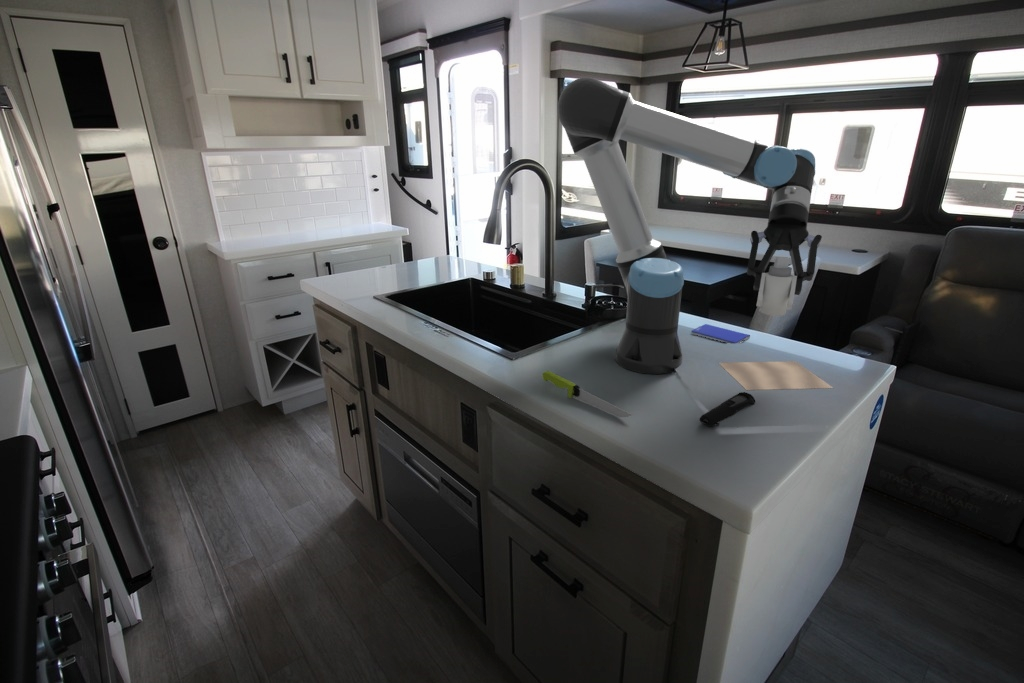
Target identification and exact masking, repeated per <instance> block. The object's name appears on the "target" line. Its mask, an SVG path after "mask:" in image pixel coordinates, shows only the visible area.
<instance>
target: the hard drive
mask: <svg viewBox="0 0 1024 683" xmlns="http://www.w3.org/2000/svg"><path fill="white" fill-rule="evenodd" d="M690 334H691V335H695V336H697V335H698V336H697V337H701V336H702V338H705V337H706V338H705V339H708V338H710V339H709V340H712V339H714V340H713V341H716V340H718V341H717V342H720V341H721V342H720V343H723V342H726V343H725V344H727V343H730V344H734V345H735V344H741V343H740V342H742V341H743V342H745V341H747V340H749V339H750V338H751V334H749V333H748V334H747V333H743V332H739V331H736V330H731V329H728V328H723V327H719V326H715V325H711V324H707V323H704V324H703V325H702V324H701V325H700V326H698V327H696V328H693V329H691V331H690ZM746 339H747V340H746ZM744 340H745V341H744ZM743 342H742V343H743ZM730 344H729V345H730Z"/></svg>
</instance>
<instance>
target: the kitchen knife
mask: <svg viewBox="0 0 1024 683" xmlns="http://www.w3.org/2000/svg"><path fill="white" fill-rule="evenodd" d="M541 378H542V380H543V381H544V382H548V381H549V382H550V383H552V384H553V385H554V386H556V387H557V388H560V389H567V398H570V399H572V398H573V399H576V400H577V401H580V402H583V403H585V404H587V405H590V406H592V407H595V408H597V409H599V410H601V411H603V412H606V413H608V414H611V415H612V416H615V417H617V418H630V417H631V416H633V414H632V413H630V412H628V411H626V410H624V409H622V408H619V407H618V406H616V405H614V404H612V403H610V402H608V401H606V400H604V399H602V398H600V397H599V396H596V395H593V394H592V393H591V392H588V391H586V390H584V389H582V388H581V387H580V386H579V385H578V384H576V383H574V382H572V381H570V380H568V379H566V378H564V377H562V376H560V375H557V374H556V373H554V372H552V371H550V370H546V371H544V372H542V376H541Z"/></svg>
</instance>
